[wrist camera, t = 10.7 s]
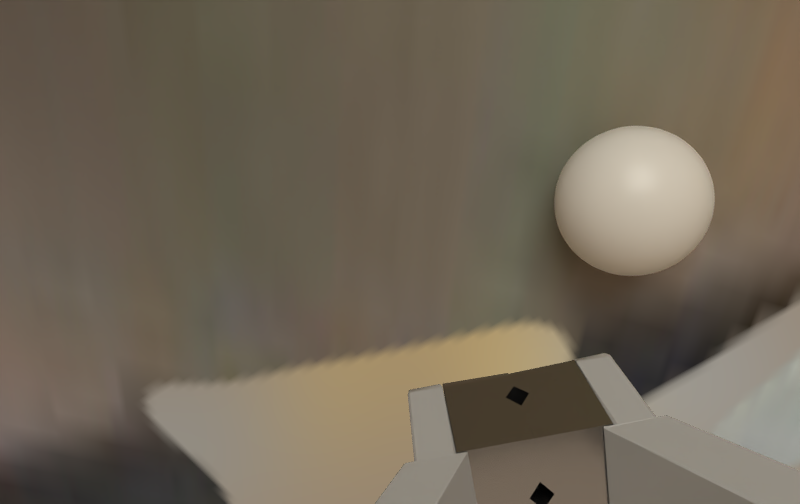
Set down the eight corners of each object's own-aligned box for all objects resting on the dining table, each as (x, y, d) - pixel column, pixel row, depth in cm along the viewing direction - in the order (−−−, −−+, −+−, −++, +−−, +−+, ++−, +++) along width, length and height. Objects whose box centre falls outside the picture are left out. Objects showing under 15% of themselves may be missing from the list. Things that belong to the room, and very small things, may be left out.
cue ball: (693, 313, 22) (663, 212, 26) (766, 204, 18) (719, 103, 22) (544, 298, 22) (536, 199, 26) (584, 186, 18) (567, 88, 22)
